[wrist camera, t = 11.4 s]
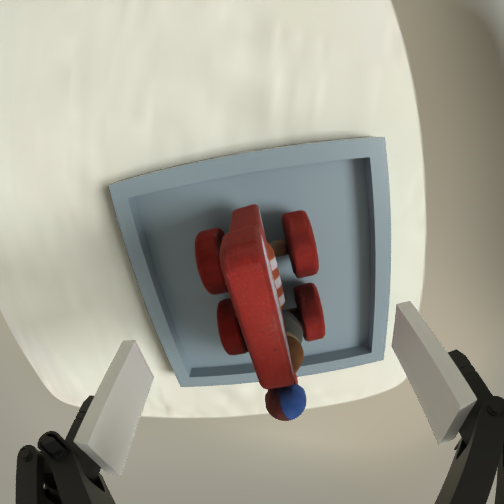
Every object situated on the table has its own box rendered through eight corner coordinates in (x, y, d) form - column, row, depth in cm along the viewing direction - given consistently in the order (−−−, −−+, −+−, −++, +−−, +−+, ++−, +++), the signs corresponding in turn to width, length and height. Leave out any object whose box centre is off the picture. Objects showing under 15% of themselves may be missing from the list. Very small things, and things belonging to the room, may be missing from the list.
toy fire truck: (238, 349, 24) (228, 457, 14) (194, 203, 19) (136, 271, 10) (321, 335, 23) (349, 441, 14) (299, 181, 19) (342, 230, 9)
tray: (120, 180, 20) (108, 185, 18) (373, 136, 18) (384, 137, 16) (184, 372, 26) (180, 386, 24) (376, 345, 25) (383, 359, 23)
